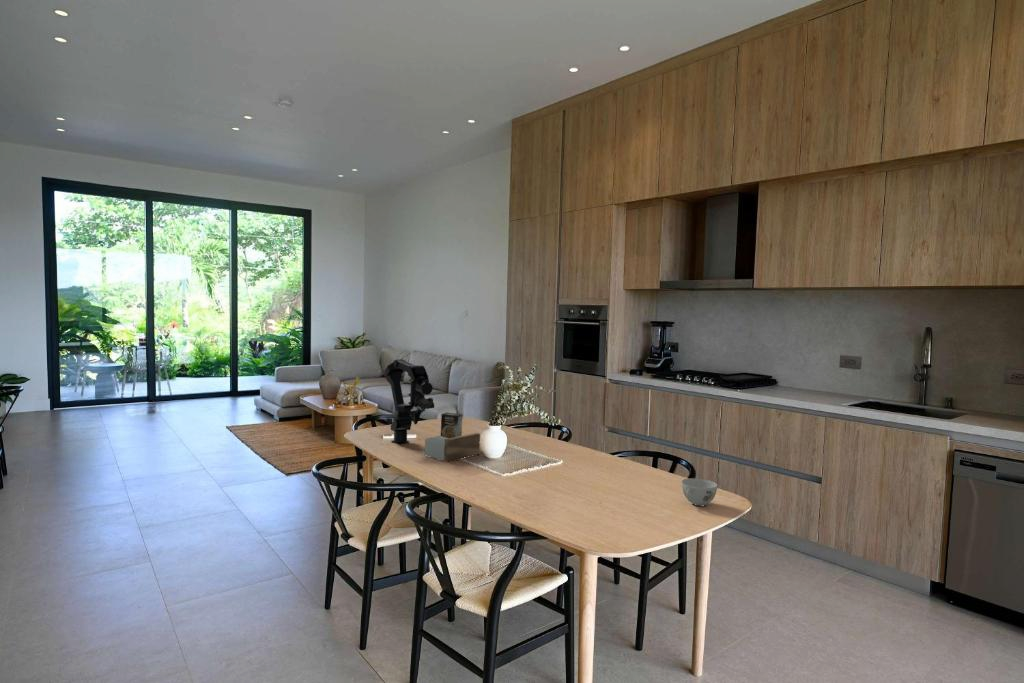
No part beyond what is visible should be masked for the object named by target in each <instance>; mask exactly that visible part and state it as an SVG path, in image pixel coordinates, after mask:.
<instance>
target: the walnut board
mask: <svg viewBox="0 0 1024 683" xmlns="http://www.w3.org/2000/svg"><path fill="white" fill-rule="evenodd" d="M480 444H481V434H480V433H479V432H474V433H469V434H463V435H462V436H458V437H453V438H448V439H445V444H444V461H443V462H445V461H446V462H445V463H451V462H450V461H452V462H456V461H459V460H458V459H460V460H462V459H461V458H464V457H468V456H472V455H476V456H478V455H477V454H479V455H480V446H481V445H480ZM472 457H473V456H472ZM468 458H469V457H468ZM464 459H465V458H464ZM455 460H456V461H455Z"/></svg>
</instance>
